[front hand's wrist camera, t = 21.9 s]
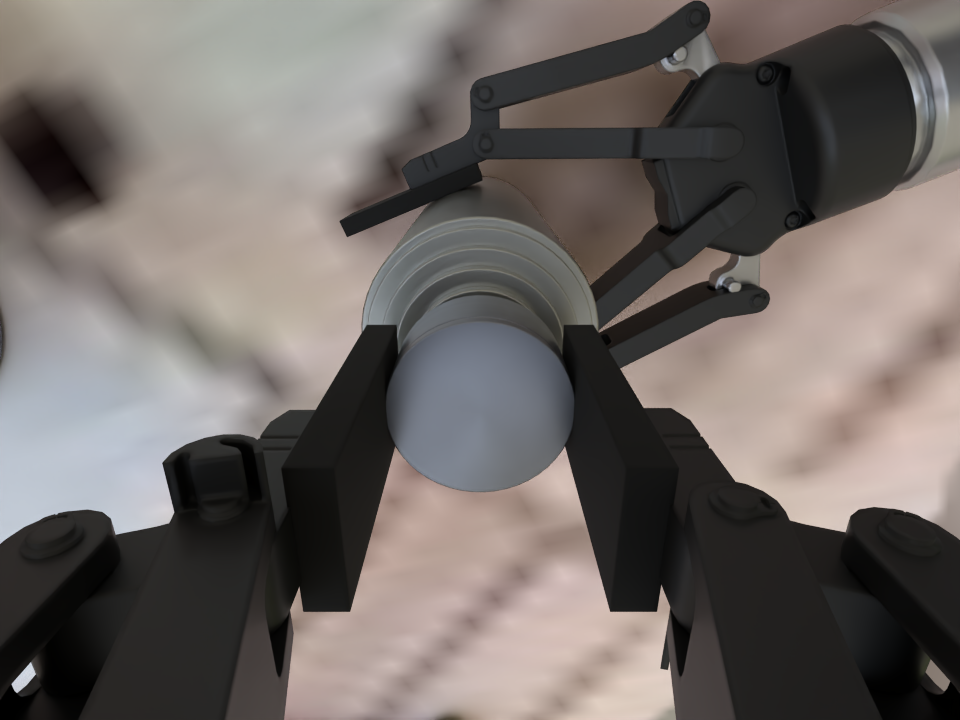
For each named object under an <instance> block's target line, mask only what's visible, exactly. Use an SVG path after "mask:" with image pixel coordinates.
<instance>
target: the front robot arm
mask: <svg viewBox="0 0 960 720" xmlns="http://www.w3.org/2000/svg"><path fill="white" fill-rule="evenodd" d="M1 351H2V331H1V323H0V358H1ZM397 357H398V339H397V325H366V327H365V329H364V330H363V332H362V334H361V335H360V337H359V339H358V340H357V342H356V344H355V345H354V347H353V349H352V350H351V352H350V354H349V355H348V357H347V359H346V360H345V362H344V364H343V365H342V367H341V369H340V370H339V372H338V374H337V375H336V377H335V379H334V380H333V382H332V384H331V385H330V387H329V389H328V390H327V392H326V394H325V395H324V397H323V399H322V400H321V402H320V404H319V405H318V407H317V409H316V410H289V411H287V412H286V413H284V414H282V415H281V416H279V417H278V418H276V419H275V420H273V421H271V422H270V424H269V425H268V426H267V428H266V429H265V430H264V432H263V433H262V434H261V436H260V439H258V440H257V439H255V438H254V437H249V436H245V435H241V434H232V435H218V436H213V437H207V438H203V439H200V440H197V441H195V442H192V443H189V444H186V445H185V446H183V447H181V448H179V449H178V450H176V451H174V452H173V453H171V454H170V455H169V456H168V457H167V458H166V460H165V461H164V462H163V463H162V464H163V468H164V472H165V476H166V480H167V484H168V488H169V492H170V496H171V500H172V504H173V508H174V515H173V517H172V519H171V521H170V523H169V524H165V525H161V526H157V527H153V528H148V529H143V530H138V531H132V532H127V533H122V534H117V535H115V531H114V528H113V525H112V521H111V519H110V518H109V517H108V516H107V515H105V514H104V513H103V512H99V511H93V510H79V511H67V512H62V513H58V514H57V515H55V514H54V515H51V516H48V517H45V518H42V519H41V520H39V521H37V522H35V523H33V524H30V525H28V526H26V527H24V528H22V529H21V530H19V531H18V532H16V533H15V534H13V535H12V536H10V537H9V538H7V539H6V540H5V541H3V542H2V543H1V544H0V720H284V714H285V705H286V697H287V688H288V679H289V670H290V661H291V652H292V643H293V634H294V633H293V626H292V619H291V614H290V608H291V606H292V603H293V601H294V598H295V596H296V593H297V591H298V588H299V586H300V593H301V599H302V606H303V612H350V610H351V607H352V603H353V599H354V596H355V592H356V588H357V585H358V581H359V577H360V574H361V570H362V566H363V562H364V559H365V555H366V551H367V548H368V544H369V540H370V537H371V533H372V529H373V526H374V522H375V518H376V515H377V511H378V507H379V504H380V500H381V496H382V493H383V489H384V485H385V482H386V478H387V474H388V471H389V467H390V463H391V460H392V456H393V452H394V449H395V444H394V442H393V440H392V438H391V436H390V433H389V430H388V426H387V413H386V398H385V394H386V389H387V385H388V382H389V379H390V376H391V373H392V371H393V368H394V365H395V363H396V360H397ZM562 357H563V359H564V362H565V365H566V367H567V370H568V373H569V375H570V378H571V381H572V384H573V387H574V392H575V404H574V418H573V429H572V432H571V434H570V437H569V439H568V441H567V443H566V445H565V447H566V451H567V455H568V458H569V462H570V466H571V469H572V473H573V477H574V480H575V484H576V488H577V491H578V495H579V499H580V502H581V506H582V510H583V513H584V517H585V521H586V524H587V528H588V532H589V535H590V539H591V543H592V546H593V550H594V554H595V557H596V561H597V565H598V568H599V572H600V576H601V579H602V583H603V587H604V590H605V594H606V598H607V602H608V605H609V609H610V612H657V608H658V602H659V595H660V589H661V585H662V587H663V590H664V592H665V595H666V597H667V600H668V602H669V605H670V607H671V608H670V614H669V619H668V625H667V631H666V637H665V643H664V649H663V655H662V662H661V668H660V669H666V670H668V666H669V661H670V668H671V677H672V686H673V695H674V704H675V713H676V720H960V540H959V539H958V538H957V537H955V536H954V535H952V534H950V533H949V532H947V531H946V530H944V529H943V528H941V527H940V526H938V525H937V524H934V523H932V522H930V521H928V520H925V519H923V518H921V517H920V516H918V515H915V514H912V513H909V512H904V511H902V510H897V509H887V508H877V507H872V508H866V509H860V510H858V511H856V512H855V513H854V514H853V515H851V516H850V520H849V523H848V526H847V530H846V533H845V532H840V531H835V530H830V529H825V528H820V527H815V526H810V525H805V524H801V523H797V522H793V521H790V520H789V518H788V516H787V514H786V512H785V510H784V509H783V508H782V506H781V505H780V504H779V503H778V501H777V500H775V499H774V498H772V497H771V496H769V495H768V494H766V493H765V492H763V491H761V490H759V489H757V488H754V487H752V486H749V485H747V484H743V483H738V482H735V480H734V479H733V478H732V476H731V475H730V474H729V472H728V471H727V470H726V468H725V467H724V466H723V464H722V463H721V461H720V460H719V459H718V457H717V456H716V455H715V453H714V452H713V451H712V449H709V445H708V444H707V442H706V441H705V440H704V438H703V437H700V433H699V432H698V430H697V429H696V428H695V426H694V425H693V423H692V422H691V421H690V420H689V419H687V418H686V417H684V416H683V415H681V414H680V413H678V412H676V411H675V410H673V409H672V408H643V406H642V405H641V403H640V401H639V400H638V398H637V396H636V395H635V393H634V391H633V390H632V388H631V386H630V385H629V383H628V381H627V380H626V378H625V376H624V375H623V373H622V371H621V370H620V368H619V366H618V365H617V363H616V361H615V360H614V358H613V356H612V355H611V353H610V351H609V350H608V348H607V346H606V345H605V343H604V341H603V340H602V338H601V336H600V335H599V333H598V331H597V330H596V328H595V326H594V325H564V328H563V345H562ZM930 660H932V661H933V662H934V663H935V664H936V665H937V667H938V668H939V669H940V670H941V671H942V672H943V673H944V674H945V676H946V677H947V678H948V679H949V680H950V684H949V686H948V688H947V690H946V691H943V690H942V689H941V688H939V687H938V686H937V685H936V684H935V683H934V682H933V681H932V679H931V678H930V677H929V676H928V675H927V674H926V669H927V667H928V664H929V662H930ZM30 662H31V663H32V666H33V668H34V670H35V673H36V675H35V676H34V677H33V679H32V680H31V681H30V682H29V683H28V684H27V685H26V686H25V687H24V688H23V689H22V690H20V691H19V692H18V693H16V692H15V691H14V689H13V687H12V685H11V684H12V683H13V682H14V680H15V679H16V678H17V677H18V676H19V675H20V674H21V672H22V671H23V670H24V669H25V668H26V667H27V666H28V665H29V663H30Z"/></svg>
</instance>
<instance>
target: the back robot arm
mask: <svg viewBox="0 0 960 720" xmlns="http://www.w3.org/2000/svg"><path fill="white" fill-rule="evenodd" d="M709 22H710V11H709V8H708V6H707V5H706V4H705V3H704V2H702V1H692V2H690V3H688V4H687V5H685V6H683V7H682V8H680V9H679V10H677V11H676V12H674V13H672V14H671V15H669V16H668V17H666V18H665V19H664V20H662V21H661V22H659V23H658V24H657V25H655V26H654V27H653V28H651V29H650V30H648V31H647V32H645V33H641V34H638V35H634V36H631V37H627V38H623V39H620V40H616V41H613V42H609V43H606V44H602V45H598V46H595V47H591V48H588V49H584V50H581V51H577V52H573V53H570V54H566V55H563V56H559V57H556V58H552V59H548V60H545V61H541V62H538V63H534V64H531V65H527V66H523V67H520V68H516V69H513V70H509V71H505V72H502V73H498V74H495V75H491V76H488V77H484V78H481V79H479V80H477V81H476V82H475V83H474V84H473V85H472V88H471V91H470V101H471V125H470V128H469V130H468V132H467V134H466V135H465V136H464V137H462V138H460V139H458V140H456V141H454V142H451V143H449V144H447V145H444V146H442V147H440V148H437V149H435V150H433V151H431V152H428V153H426V154H424V155H421V156H419V157H417V158H414V159H412V160H410V161H409V162H408V163H407V164H406V165H405V166H404V167H403V168H402V171H403V173H404V176H405V178H406V180H407V183H408V185H409V187H410V189H409V190H406V191H404V192H401V193H399V194H397V195H394V196H392V197H390V198H387V199H385V200H383V201H380V202H378V203H375V204H373V205H371V206H368V207H366V208H364V209H361V210H359V211H357V212H354V213H352V214H350V215H349V216H347V217H345V218H344V219H342V220H341V221H340V223H341V225H342V228H343V230H344V232H345V234H346V236H347V237H349V236H351V235H353V234H356V233H358V232H361V231H363V230H365V229H368V228H370V227H373V226H375V225H377V224H380V223H382V222H385V221H387V220H389V219H392V218H394V217H397V216H399V215H401V214H404V213H406V212H409V211H411V210H413V209H416V208H418V207H420V206H423V205H425V204H428V203H430V202H432V201H435V200H437V199H440V198H442V197H444V196H446V195H449V194H452V193H454V192H456V191H459V190H461V189H464V188H466V187H468V186H471V185H473V184H476V183H478V182H480V181H483V179H482V174H481V171H480V169H479V166H478V164H477V163H479V162H482V161H484V160H486V159H598V158H636V159H644V160H642V164H643V168H644V172H645V175H646V178H647V179H648V181H649V183H650V184H651V186H652V188H653V189H654V192H655V212H656V215H657V219H658V224H657V225H655V226H654V227H653V228H652V229H651V230H650V231H649V232H647V233H646V234H645V236H644V237H643V240H642V241H641V242H640V243H639V244H638V245H637V246H636V247H635V248H633V249H632V250H631V251H630V252H629V253H628V254H626V255H625V256H624V257H623V258H622V259H621V260H619V261H618V262H617V263H616V264H615V265H614V266H613V267H611V268H610V269H609V270H608V271H607V272H606V273H604V274H603V275H602V276H601V277H600V278H599V279H597V280H596V281H595V282H594V283H593V284H592V285H590V288H591V290H592V293H593V296H594V299H595V303H596V307H597V314H598V330H600V329H601V328H602V327H603V326H604V325H606V324H607V323H608V322H609V321H610V320H612V319H613V318H614V317H615V316H617V315H618V314H619V313H620V312H621V311H623V310H624V309H625V308H626V307H627V306H629V305H630V304H631V303H632V302H633V301H635V300H636V299H637V298H638V297H639V296H641V295H642V294H643V293H644V292H645V291H647V290H648V289H649V288H650V287H652V286H653V285H654V284H655V283H656V282H658V281H659V280H660V279H661V278H662V277H664V276H665V275H666V274H667V273H668V272H670V271H671V270H673V269H677V268H679V267H681V266H683V265H684V264H686V263H687V262H688V261H690V260H691V259H692V258H693V257H694V256H696V255H697V254H698V253H699V252H700V251H702V250H703V249H704V248H705V247H708V248H712V249H716V250H720V251H724V252H727V253H731V256H730V259H729V261H728V262H727V263H726V264H725V265H724V266H722V267H720V268H718V269H716V270H714V271H713V272H711V274H710V277H709V281H705V282H701V283H698V284H695V285H692V286H690V287H688V288H686V289H684V290H682V291H680V292H678V293H676V294H674V295H672V296H670V297H668V298H666V299H664V300H662V301H660V302H658V303H656V304H654V305H652V306H650V307H648V308H646V309H645V310H643V311H641V312H639V313H637V314H635V315H633V316H631V317H629V318H627V319H625V320H623V321H621V322H619V323H617V324H615V325H613V326H611V327H609V328H607V329H605V330H603V331H602V332H600V333H599V335H600V336H601V338H602V340H603V341H604V343H605V345H606V346H607V348H608V350H609V351H610V353H611V355H612V356H613V358H614V360H615V361H616V363H617V365H618V366H619V368H622V367H624V366H626V365H628V364H630V363H632V362H634V361H636V360H638V359H640V358H642V357H644V356H646V355H648V354H650V353H652V352H654V351H656V350H658V349H660V348H662V347H664V346H666V345H668V344H670V343H672V342H674V341H676V340H678V339H680V338H682V337H684V336H686V335H688V334H690V333H692V332H694V331H697V330H699V329H701V328H703V327H705V326H707V325H709V324H711V323H713V322H715V321H717V320H719V319H721V318H727V317H733V316H740V315H746V314H753V313H758V312H761V311H763V310H764V309H765V308H766V307H767V306H768V304H769V301H770V296H769V293H768V292H767V291H766V290H764V289H762V288H761V287H760V285H759V283H760V254H761V253H763V252H764V251H766V250H767V249H768V248H769V247H770V246H771V245H772V244H773V243H774V242H775V241H776V240H777V239H779V238H780V237H781V236H783V235H784V234H786V233H788V232H790V231H793V230H796V229H799V228H802V227H805V226H809V225H811V224H814V223H817V222H819V221H822V220H825V219H827V218H830V217H833V216H835V215H838V214H841V213H843V212H846V211H849V210H851V209H854V208H857V207H859V206H862V205H865V204H868V203H870V202H873V201H876V200H878V199H881V198H883V197H885V196H886V195H888V194H889V193H890V192H891V191H899V190H905V189H909V188H912V187H914V186H917V185H919V184H922V183H925V182H927V181H930V180H932V179H935V178H937V177H940V176H943V175H945V174H948V173H950V172H953V171H955V170H958V169H960V0H899V1H896V2H894V3H891V4H889V5H886V6H884V7H882V8H879V9H877V10H874V11H872V12H870V13H867V14H865V15H864V16H862V17H860V18H858V19H856V20H855V21H854V22H853V23H852V24H851V25H840V26H836V27H834V28H832V29H829V30H827V31H824V32H822V33H820V34H817V35H815V36H812V37H810V38H808V39H805V40H803V41H801V42H798V43H796V44H793V45H791V46H789V47H786V48H784V49H781V50H779V51H777V52H774V53H772V54H769V55H767V56H765V57H762V58H760V59H757V60H755V61H753V62H750V63H747V64H735V63H729V62H724V63H720V61H719V59H718V56H717V54H716V52H715V50H714V48H713V46H712V43H711V41H710V39H709V37H708V35H707V32H706V30H705V29H706V28H707V26H708V24H709ZM651 64H654V66H655V68H656V69H657V71H658V72H660V73H661V74H665V75H667V74H672V73H675V72H678V71H682V72H685V73H686V74H688V75H689V77H690V78H691V81H690V82H689V83H688V85H687V86H686V88H685V89H684V91H683V92H682V94H681V95H680V96H679V98H678V99H677V101H676V102H675V104H674V105H673V107H672V108H671V109H670V111H669V112H668V114H667V115H666V117H665V118H664V119H663V121H662V122H661V124H660V125H659V127H658V128H527V129H500V125H499V109H500V108H504V107H508V106H511V105H515V104H519V103H522V102H526V101H529V100H533V99H537V98H540V97H544V96H548V95H551V94H555V93H559V92H562V91H566V90H570V89H573V88H577V87H581V86H584V85H588V84H592V83H595V82H599V81H603V80H606V79H610V78H614V77H617V76H621V75H624V74H628V73H631V72H634V71H637V70H639V69H642V68H644V67H646V66H649V65H651Z"/></svg>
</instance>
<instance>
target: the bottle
mask: <svg viewBox="0 0 960 720" xmlns="http://www.w3.org/2000/svg"><path fill="white" fill-rule="evenodd" d="M482 179H483V181H480V182H478V183H476V184H473V185H471V186H468V187H466V188H464V189H461V190H459V191H456V192H454V193H452V194H449V195H446V196H444V197H442V198H440V199H437V200H435V201H432V202H430V203H429V204H428V205H427V206H426V208H425V209H424V210H423V212H422V213H421V214H420V216H419V217H418V218H417V220H416V221H415V222H414V224H413V225H412V226H411V227H410V229H409V230H408V231H407V233H406V234H405V235H404V237H403V238H402V239H401V241H400V242H399V243H398V245H397V246H396V247H395V249H394V250H393V251H392V253H391V254H390V255H389V257H388V258H387V259H386V261H385V262H384V263H383V265H382V266H381V267H380V269H379V271H378V272H377V274H376V276H375V278H374V279H373V281H372V283H371V286H370V288H369V291H368V293H367V296H366V300H365V304H364V308H363V316H362V332H363V330H364V329H365V327H366V325H397V339H398V355H399V352H400V349H401V347H402V344H403V342H404V340H405V338H406V336H407V335H408V333H409V331H410V330H411V329H412V327H413V326H414V325H415V324H416V322H417V321H418V320H420V319H421V318H422V317H423V316H424V315H425V314H426V313H428V312H429V311H430V310H432V309H433V308H435V307H437V306H439V305H441V304H443V303H445V302H448V301H450V300H453V299H456V298H461V297H465V296H474V295H487V296H494V297H500V298H504V299H507V300H511V301H513V302H515V303H518V304H520V305H522V306H523V307H525V308H527V309H529V310H530V311H531V312H533V313H534V314H535V315H536V316H538V317H539V318H540V319H541V320H542V321H543V322H544V323H545V324H546V325H547V327H548V328H549V330H550V331H551V332H552V334H553V336H554V337H555V339H556V341H557V343H558V346H559V349H560V351H561V354H562V345H563V328H564V325H594V326H595V328H596V330H597V331H598V314H597V307H596V303H595V299H594V296H593V293H592V290H591V288H590V285H589V283H588V281H587V279H586V277H585V275H584V274H583V272H582V270H581V269H580V267H579V266H578V264H577V263H576V261H575V260H574V259H573V258H572V256H571V255H570V254H569V252H568V251H567V250H566V248H565V247H564V246H563V244H562V243H561V242H560V240H559V239H558V238H557V236H556V235H555V234H554V232H553V231H552V230H551V229H550V227H549V226H548V225H547V223H546V222H545V221H544V219H543V218H542V217H541V215H540V214H539V213H538V211H537V210H536V209H535V207H534V206H533V205H532V204H531V202H530V201H529V200H528V199H527V197H526V196H525V195H524V194H523V193H522V192H521V191H519V190H518V189H517V188H515V187H514V186H512V185H511V184H509V183H507V182H505V181H502V180H499V179H496V178H492V177H484V176H482Z"/></svg>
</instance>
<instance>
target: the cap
mask: <svg viewBox="0 0 960 720" xmlns="http://www.w3.org/2000/svg"><path fill="white" fill-rule="evenodd" d="M385 398H386V413H387V426H388V430H389V433H390V436H391V438H392V440H393V442H394V444H395V446H396V448H397V449H398V451H399V452H400V454H401V455H402V456H403V458H404V459H405V460H406V461H407V462H408V463H409V464H410V465H411V466H412V467H413V468H414V469H416V470H417V471H418V472H419V473H421V474H422V475H424V476H425V477H427V478H428V479H430V480H432V481H434V482H436V483H438V484H441V485H444V486H446V487H449V488H453V489H457V490H462V491H469V492H491V491H498V490H503V489H508V488H511V487H514V486H517V485H520V484H522V483H524V482H526V481H528V480H530V479H532V478H533V477H535V476H537V475H538V474H540V473H541V472H542V471H543V470H545V469H546V468H547V467H548V466H549V465H550V464H551V463H552V462H553V461H554V460H555V459H556V458H557V457H558V455H559V454H560V453H561V451H562V450H563V448H564V447H565V445H566V443H567V441H568V439H569V437H570V434H571V432H572V429H573V418H574V404H575V392H574V387H573V384H572V381H571V378H570V375H569V373H568V370H567V367H566V365H565V362H564V359H563V357H562V354H561V351H560V349H559V346H558V343H557V341H556V339H555V337H554V336H553V334H552V332H551V331H550V330H549V328H548V327H547V325H546V324H545V323H544V322H543V321H542V320H541V319H540V318H539V317H538V316H536V315H535V314H534V313H533V312H531V311H530V310H529V309H527V308H525V307H523V306H522V305H520V304H518V303H515V302H513V301H511V300H507V299H504V298H500V297H494V296H487V295H474V296H465V297H461V298H456V299H453V300H450V301H448V302H445V303H443V304H441V305H439V306H437V307H435V308H433V309H432V310H430V311H429V312H428V313H426V314H425V315H424V316H423V317H422V318H421V319H420V320H418V321H417V322H416V324H415V325H414V326H413V327H412V329H411V330H410V331H409V333H408V335H407V336H406V338H405V340H404V342H403V344H402V347H401V349H400V352H399V355H398V357H397V360H396V363H395V365H394V368H393V371H392V373H391V376H390V379H389V382H388V385H387V389H386V394H385Z"/></svg>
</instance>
